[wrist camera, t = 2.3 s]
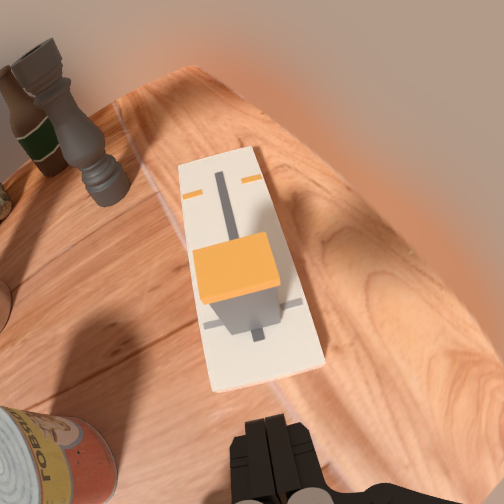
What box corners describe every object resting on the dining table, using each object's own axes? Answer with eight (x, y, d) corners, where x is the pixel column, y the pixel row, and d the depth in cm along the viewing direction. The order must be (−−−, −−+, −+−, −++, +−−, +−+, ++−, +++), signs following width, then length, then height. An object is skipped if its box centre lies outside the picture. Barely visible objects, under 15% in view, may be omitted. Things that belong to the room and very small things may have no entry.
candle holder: (97, 183, 43) (20, 56, 21) (131, 170, 43) (61, 31, 21) (93, 212, 39) (0, 76, 18) (129, 199, 40) (43, 47, 18)
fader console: (322, 366, 26) (326, 362, 24) (218, 392, 26) (211, 391, 24) (253, 159, 40) (251, 145, 38) (183, 178, 40) (177, 165, 38)
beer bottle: (50, 156, 50) (-4, 70, 29) (79, 144, 50) (26, 50, 29) (39, 182, 46) (-25, 92, 26) (68, 171, 46) (4, 70, 25)
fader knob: (283, 324, 26) (279, 278, 17) (230, 337, 26) (199, 299, 17) (273, 289, 27) (265, 231, 19) (222, 303, 27) (192, 250, 19)
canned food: (128, 446, 24) (49, 451, 13) (106, 523, 19) (35, 547, 8) (54, 400, 26) (-23, 379, 16) (37, 471, 21) (-36, 470, 11)
